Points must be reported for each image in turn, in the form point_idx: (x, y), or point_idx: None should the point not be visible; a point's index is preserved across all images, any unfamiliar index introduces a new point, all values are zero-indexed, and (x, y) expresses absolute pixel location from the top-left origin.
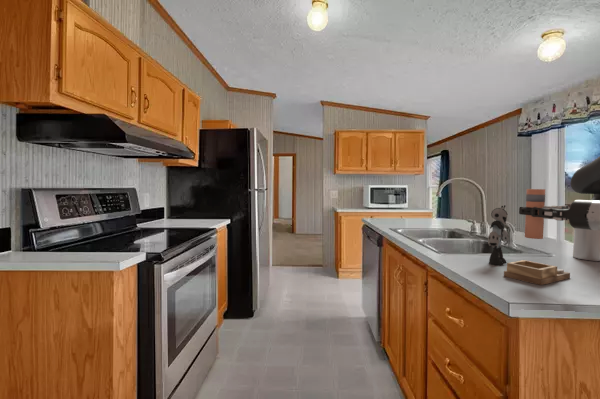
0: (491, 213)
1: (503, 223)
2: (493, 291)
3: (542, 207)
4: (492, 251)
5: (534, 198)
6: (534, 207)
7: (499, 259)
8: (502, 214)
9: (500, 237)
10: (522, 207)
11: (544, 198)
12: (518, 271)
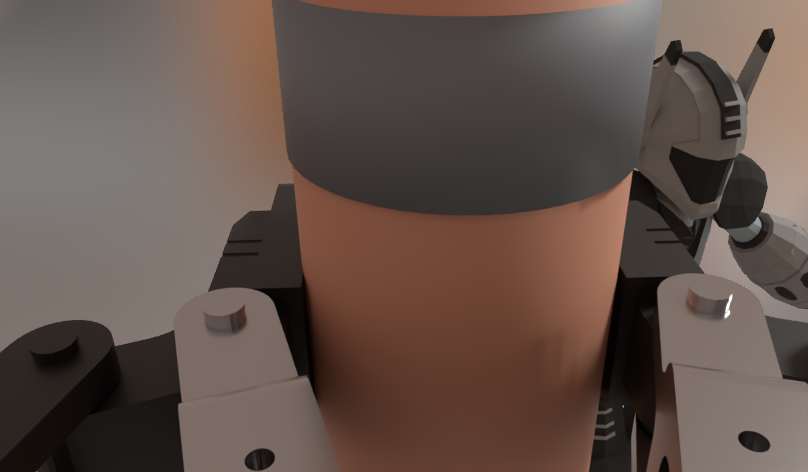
0: None
1: (680, 206)
2: None
3: (439, 335)
4: None
5: (282, 94)
6: (31, 350)
7: (597, 454)
8: (671, 127)
9: None
10: (277, 204)
11: (506, 128)
12: None
